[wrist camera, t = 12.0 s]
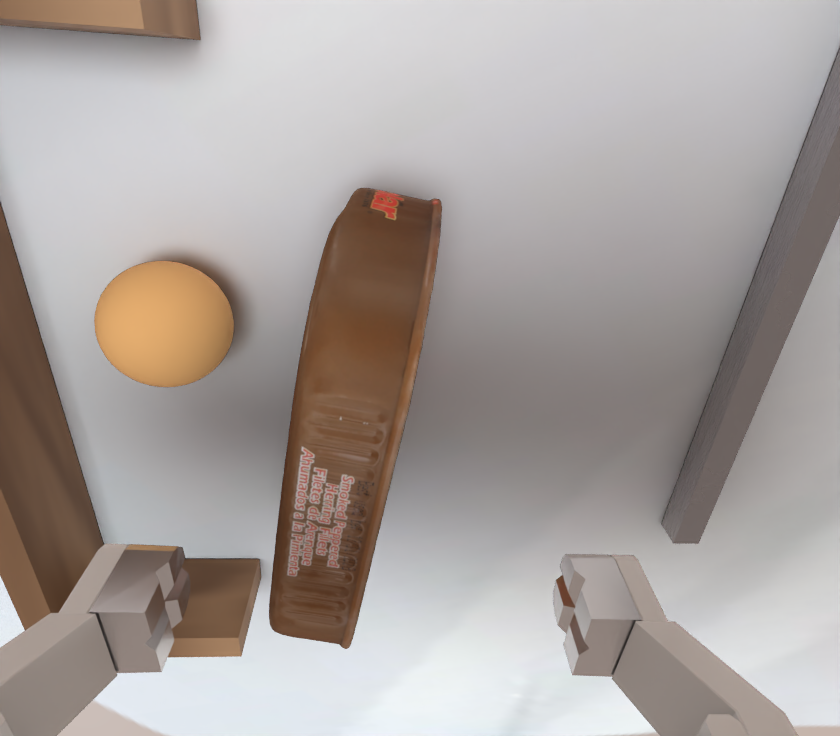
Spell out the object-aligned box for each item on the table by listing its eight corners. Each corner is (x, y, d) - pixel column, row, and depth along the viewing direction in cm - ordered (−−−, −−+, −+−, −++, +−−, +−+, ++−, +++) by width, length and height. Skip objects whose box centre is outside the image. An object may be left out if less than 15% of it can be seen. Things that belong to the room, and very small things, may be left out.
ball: (87, 233, 15) (82, 298, 18) (110, 367, 14) (101, 411, 17) (232, 238, 17) (206, 294, 20) (260, 353, 16) (228, 394, 19)
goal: (194, -12, 15) (133, -40, 11) (261, 576, 26) (241, 656, 22) (-121, -38, 14) (-291, -75, 10) (86, 577, 25) (37, 658, 21)
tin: (364, 517, 24) (355, 710, 17) (294, 509, 24) (253, 703, 16) (440, 177, 17) (480, 252, 10) (343, 156, 17) (311, 218, 10)
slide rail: (1184, -709, 10) (1274, -798, 9) (685, 524, 25) (698, 543, 24) (1127, -720, 10) (1213, -813, 9) (661, 523, 25) (673, 543, 24)
